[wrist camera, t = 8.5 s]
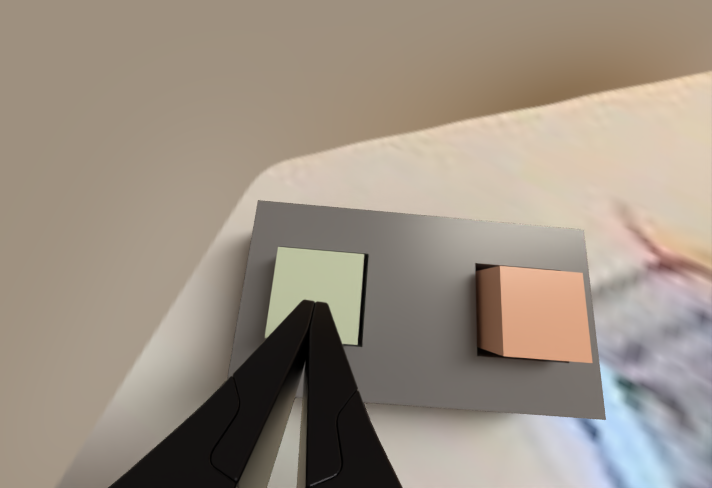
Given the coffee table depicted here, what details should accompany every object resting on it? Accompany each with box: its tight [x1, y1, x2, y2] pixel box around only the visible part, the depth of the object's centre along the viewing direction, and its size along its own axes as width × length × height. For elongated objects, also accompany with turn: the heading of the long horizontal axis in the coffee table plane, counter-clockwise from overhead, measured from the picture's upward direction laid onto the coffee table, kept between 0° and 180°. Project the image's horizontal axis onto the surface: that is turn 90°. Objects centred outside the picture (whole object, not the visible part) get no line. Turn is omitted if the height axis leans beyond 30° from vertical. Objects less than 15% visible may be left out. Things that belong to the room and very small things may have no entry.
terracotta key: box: [475, 266, 593, 363], centre depth 16 cm, size 5×5×6 cm
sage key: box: [265, 247, 364, 345], centre depth 16 cm, size 5×5×6 cm
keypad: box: [227, 200, 606, 420], centre depth 18 cm, size 11×21×5 cm, turn 85°
